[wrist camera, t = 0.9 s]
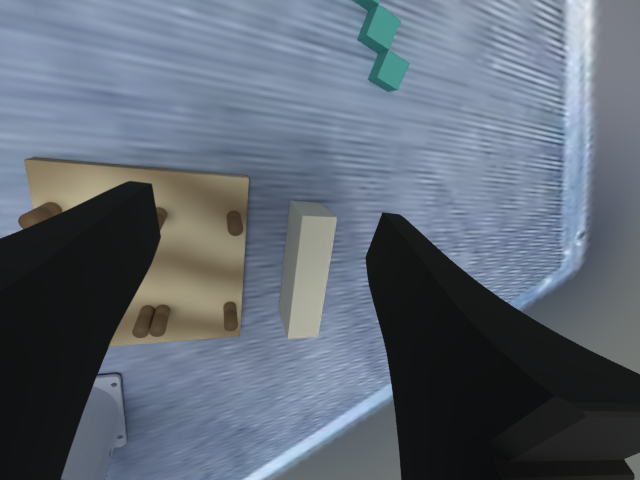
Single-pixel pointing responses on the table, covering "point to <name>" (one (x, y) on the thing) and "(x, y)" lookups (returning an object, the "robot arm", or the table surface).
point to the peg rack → (165, 244)
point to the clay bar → (305, 267)
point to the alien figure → (382, 45)
